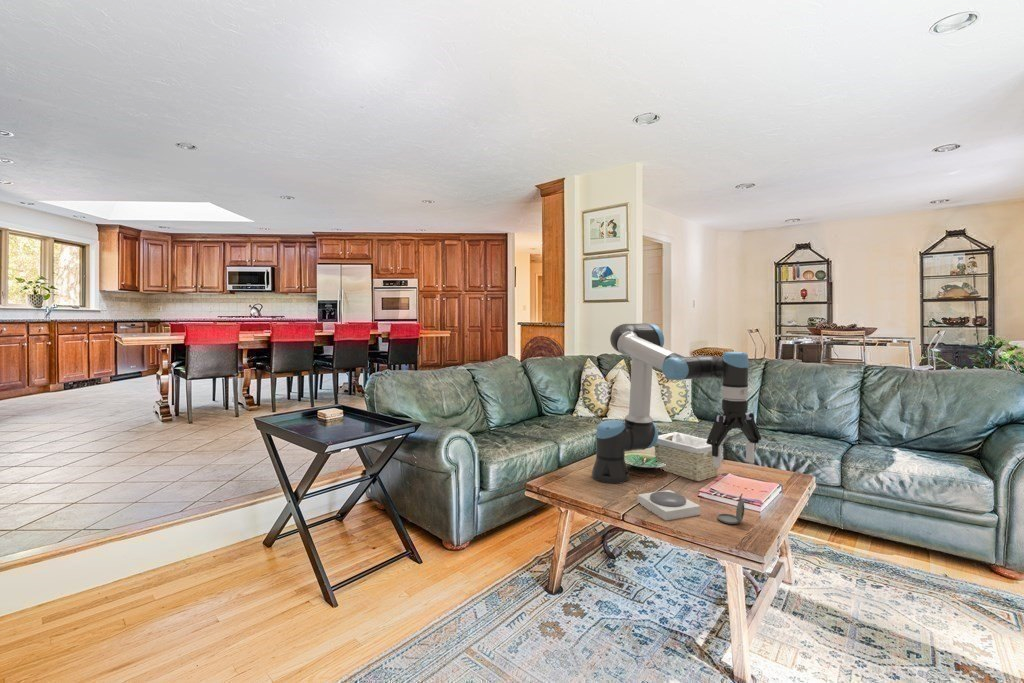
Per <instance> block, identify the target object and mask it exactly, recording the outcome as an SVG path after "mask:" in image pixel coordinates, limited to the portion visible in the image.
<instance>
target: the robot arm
mask: <svg viewBox="0 0 1024 683" xmlns="http://www.w3.org/2000/svg"><path fill="white" fill-rule="evenodd" d="M609 340H610V345H611V347H612V348H613V349H614V350H615V351H616V352H618V353H619V354H622V355H624V356H627V355H628V356H629V357H630V358H631V368H630V369H631V370H630V386H629V388H630V389H629V390H630V391H629V404H628V405H629V406H628V414H626V415H625V417H624V421H623V420H620V419H610V420H609V419H608V420H603V421H602V422H600V423H598V425H597V426H596V432H595V437H596V448H595V450H596V452H595V453H596V455H595V456H596V459H595V460H594V464H593V467H592V471H591V477H592V478H593V479H594V480H596V481H598V482H600V483H601V482H602V483H605V484H607V483H608V484H621V482H622V483H625V482H627V481H629V480H630V475H629V470H628V466H627V463H626V458H625V454H626V453H625V452H629V451H642V450H647V449H651V448H653V447H655V444H656V442H657V439H658V436H659V429H658V427H657V425H656V423H655V422H654V418H653V417H651V415H650V414H651V397H652V380H653V368H656V369H658V370H660V371H661V372H662V374H663V375H664V376H665V378H666V379H668V380H670V381H682V380H694V379H695V380H698V379H718V380H722V383H721V385H722V389H721V390H722V391H721V394H722V395H721V397H722V398H723V399H722V400H721V410H722V411H723V415H720V414H715V416H714V422H713V425H712V428H711V430H710V432H709V434H708V437H707V438H706V439H707V444H710V445H712V456H713V465H714V466H717V467H718V469H719V468H722V448H723V447H722V446H721V447H720V444H721V445H722V442H724V440H725V438H726V437H727V435H728V433H729V432H730V431H732V430H733V429H740V431H741V433H743V435H744V436H745V438H746V439H747V441H746V443H745V461H746V462H748V463H751V464H755V452H756V450H757V448H756V445H757V444H758V443H760V441H762V436H761V434H760V432H759V429H758V426H757V423H756V420H755V416H754V415H755V413H753V412H748V410H749V409H748V408H749V407H748V406H749V405H748V403H749V401H748V400H747V399H749V395H748V394H749V367H750V365H749V355H748V352H745V351H734V350H732V351H724V352H723V353H722V356H716V355H711V354H710V355H709V354H707V355H706V354H703V355H702V354H700V355H697V356H683V355H681V354H678V353H676V352H673V351H672V350H669V349H666V348H665V347H664V344H665V336H664V333H663V330H662V329H661V327H659V326H658V324H657V325H656V324H653V323H646V322H645V323H622V324H620V325H618V326H616V327H614V329H612V331H611V333H610V338H609ZM711 440H712V441H711ZM716 442H717V443H716Z"/></svg>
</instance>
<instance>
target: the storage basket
mask: <svg viewBox="0 0 1024 683" xmlns="http://www.w3.org/2000/svg"><path fill="white" fill-rule="evenodd" d="M707 439H708V438H702V437H697V436H693V435H691V434H686V433H683V432H677V431H674V432H670V433H669V432H668V433H665V434H658V439H657V442H656V444H655V445H654V455H655V458H654V459H655V462H656V461H659V462H661V463H664V464H666V467H665V468H664V469H663V470H664V471H663V472H667V473H669V474H672V473H673V475H677V476H679V477H682V478H686V479H689V480H692V481H695V482H701V481H704V480H707V479H711V478H714V477H717V476H718V469H719V467H717V466H714V465H713V456H712V445H710V444H707ZM711 441H712V440H711ZM716 443H717V442H716ZM720 447H722V443H721V444H720Z"/></svg>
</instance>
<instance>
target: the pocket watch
mask: <svg viewBox="0 0 1024 683" xmlns="http://www.w3.org/2000/svg"><path fill="white" fill-rule="evenodd" d="M742 498H743V493H741V494H740V495H739V497H738V499H739V501H738V502H737V506H736V508H735V510H736V511H735V515H734V514H730V513H719V514H717V519H718V520H719V521H720V522H722V523H725V524H729V525H737V524H739V523H740V522H742V521H743V519H744V515H745V509H746V508H745V502H744V501H743V500H742Z"/></svg>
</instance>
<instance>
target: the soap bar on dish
mask: <svg viewBox="0 0 1024 683" xmlns="http://www.w3.org/2000/svg"><path fill="white" fill-rule="evenodd" d="M637 502H639V503H640V504H641V505H640V504H639V503H638V504H639V505H640V506H642V507H643V506H644V509H645V508H646V509H647V510H649V511H650V512H651V511H652V512H651V513H653V514H655V515H656V516H657V517H659V518H661V519H663V521H671V520H676V519H682V518H689V517H695V516H699V515H701V505H699V504H697V503H695V502H693V501H692V500H689V499H687V498H686V497H685V496H684V495H681V494H678V493H676V492H675V491H673V490H671V489H666V490H660V491H654V492H653V491H652V492H646V493H645V492H644V493H639V494H637Z"/></svg>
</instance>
